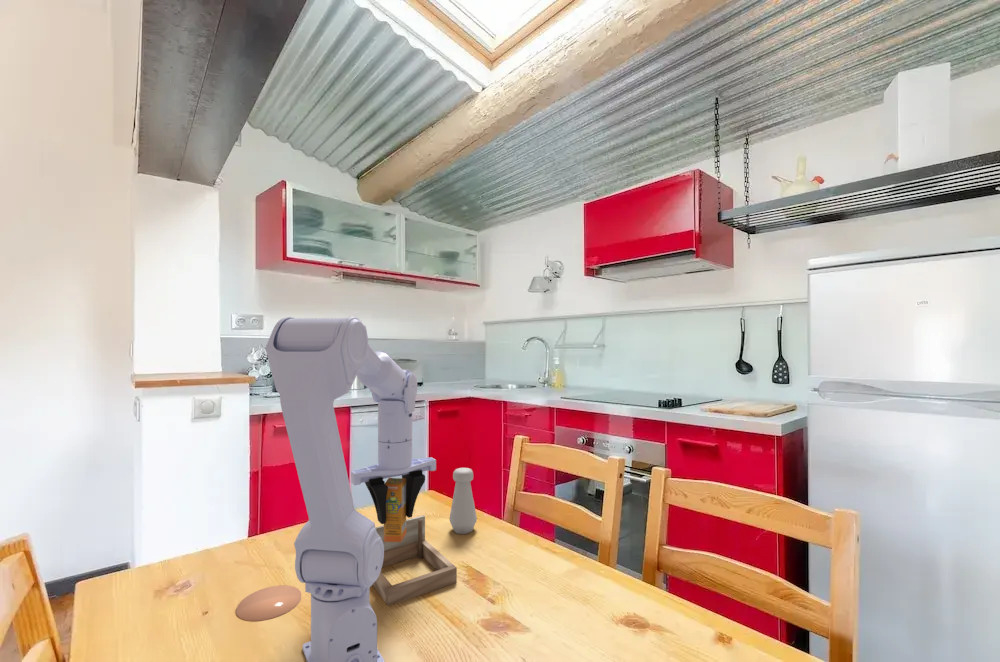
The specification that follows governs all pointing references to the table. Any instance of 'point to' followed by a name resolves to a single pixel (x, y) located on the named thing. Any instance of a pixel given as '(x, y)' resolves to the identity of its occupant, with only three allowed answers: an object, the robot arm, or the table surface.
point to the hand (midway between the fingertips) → (395, 518)
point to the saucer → (268, 603)
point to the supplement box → (395, 510)
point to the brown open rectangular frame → (412, 548)
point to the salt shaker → (463, 502)
